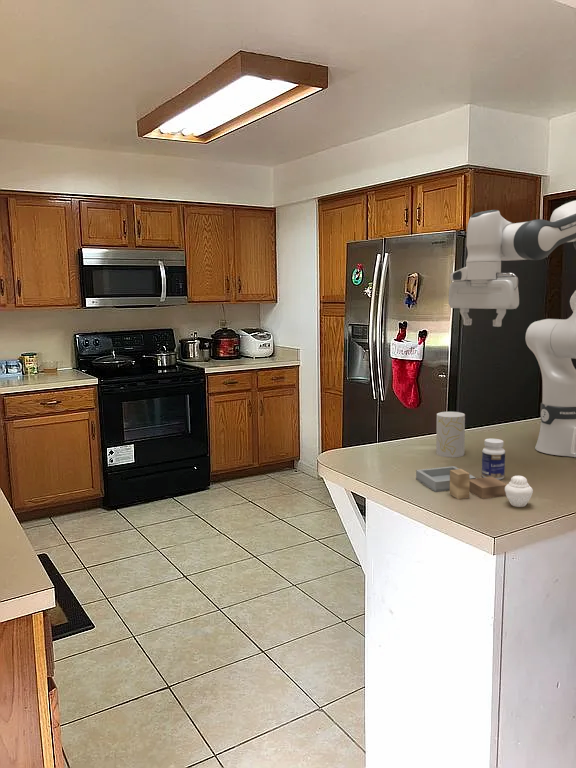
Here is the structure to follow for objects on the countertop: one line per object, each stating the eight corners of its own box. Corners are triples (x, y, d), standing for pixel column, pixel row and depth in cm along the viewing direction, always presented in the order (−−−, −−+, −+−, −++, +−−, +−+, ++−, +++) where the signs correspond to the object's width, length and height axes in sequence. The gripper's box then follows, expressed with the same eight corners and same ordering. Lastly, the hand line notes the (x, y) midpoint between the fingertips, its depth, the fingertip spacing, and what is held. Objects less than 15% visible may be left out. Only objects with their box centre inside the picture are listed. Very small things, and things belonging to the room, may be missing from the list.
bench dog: (460, 492, 158) (461, 468, 157) (469, 497, 154) (469, 473, 153) (449, 493, 157) (449, 470, 156) (457, 499, 153) (458, 474, 152)
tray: (454, 475, 172) (454, 466, 171) (475, 487, 161) (475, 477, 161) (416, 479, 169) (416, 470, 169) (435, 491, 159) (435, 482, 158)
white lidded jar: (498, 503, 149) (499, 474, 148) (516, 498, 152) (516, 469, 151) (520, 511, 144) (521, 481, 143) (538, 505, 147) (539, 476, 146)
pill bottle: (493, 481, 165) (493, 444, 164) (477, 476, 170) (477, 439, 169) (509, 478, 168) (510, 440, 166) (493, 472, 173) (493, 436, 171)
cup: (434, 456, 191) (434, 416, 189) (438, 449, 198) (439, 411, 197) (462, 458, 188) (463, 417, 186) (465, 451, 195) (466, 412, 194)
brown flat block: (492, 488, 161) (492, 476, 161) (508, 496, 155) (508, 484, 154) (466, 491, 160) (467, 479, 159) (482, 500, 153) (482, 487, 152)
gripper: (525, 272, 164) (523, 326, 166) (460, 274, 180) (459, 324, 182) (510, 272, 160) (508, 328, 162) (445, 274, 176) (444, 325, 179)
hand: (482, 325), depth 172 cm, fingers open, 8 cm apart
